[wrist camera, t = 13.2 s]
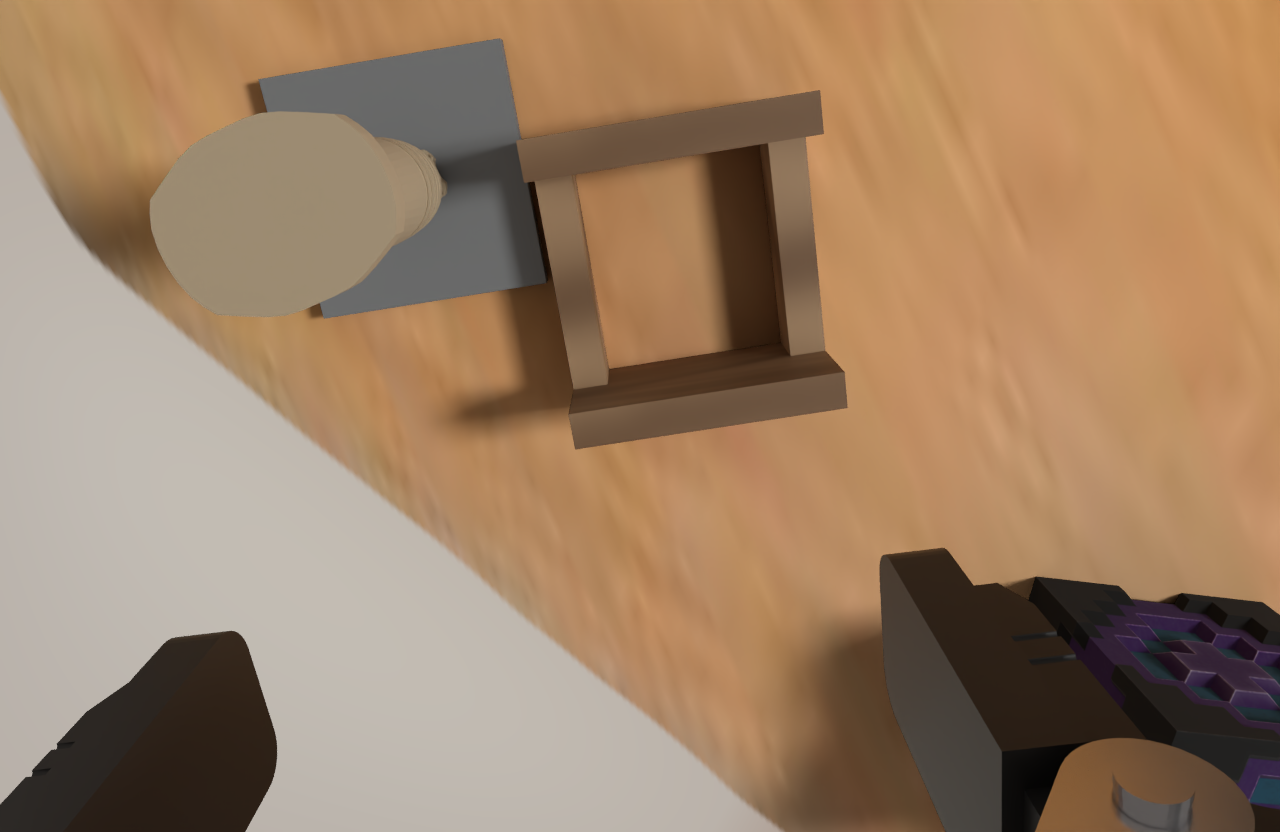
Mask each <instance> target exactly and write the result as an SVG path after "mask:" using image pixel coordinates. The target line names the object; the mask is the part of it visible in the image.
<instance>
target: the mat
mask: <svg viewBox="0 0 1280 832" xmlns="http://www.w3.org/2000/svg"><path fill="white" fill-rule="evenodd" d="M258 80H259V83H260V87H261V91H262V94H263V98H264V101H265V105H266V109H267V112H277V111H284V112H310V113H327V114H341V115H346V116H347V117H349V118H350V119H352V120H354V121H355V122H357V123H358V124H360V125H361V126H362V127H363V128H364V129H366V130H367V131H368V132H369V133H370V134H371V135H372V136H373V137H384V138H391V139H396V140H400V141H403V142H406V143H409V144H411V145H413V146H415V147H417V148H418V149H420V150H426V151H428V152H429V153H431V154H432V155H433V156H434V157H435V159H436V167H437V170H438V172H439V174H440V176H441V177H442V178H443V179H444V180H445V181H446V182H447V194H446V195H445V196H443V197H442V198H441V202H440V205H439V208H438V210H437V212H436V214H435V215H434V217H433V218H432V220H431V221H430V222H429V223H428V224H427V225H426V226H425V227H424V228H422V229H421V230H420V231H419V232H417V233H416V234H415V235H413V236H412V237H410V238H408V239H406V240H404V241H402V242H401V243H399V244H397V245H394V246H392V247H391V249H390V250H389V251H388V252H387V254H386V255H385V256H384V257H383V259H382V260H381V261H380V262H379V263H378V265H377V266H376V267H375V268H374V269H373V270H372V271H371V273H370V274H369V275H368V276H367V277H366V278H365V279H364V280H363V281H362V282H360V283H359V284H357V285H356V286H354V287H352V288H351V289H349V290H347V291H345V292H342V293H340V294H338V295H336V296H334V297H332V298H329V299H327V300H325V301H323V302H320V306H321V310H322V313H323V317H324V318H331V317H337V316H343V315H349V314H356V313H362V312H368V311H374V310H381V309H387V308H393V307H400V306H406V305H412V304H418V303H425V302H431V301H437V300H443V299H450V298H456V297H462V296H469V295H475V294H481V293H487V292H494V291H500V290H506V289H512V288H519V287H525V286H531V285H538V284H544V283H547V281H548V277H547V272H546V267H545V261H544V256H543V251H542V246H541V240H540V235H539V230H538V225H537V219H536V214H535V209H534V204H533V198H532V193H531V188H530V182H527V183H524V180H523V175H522V169H521V164H520V159H519V154H518V149H517V143H516V140H521V135H520V130H519V125H518V119H517V114H516V109H515V104H514V98H513V93H512V88H511V82H510V77H509V72H508V67H507V61H506V56H505V51H504V46H503V40H501V39H500V38H499V39H493V40H487V41H482V42H476V43H470V44H464V45H458V46H452V47H446V48H440V49H435V50H429V51H423V52H417V53H411V54H405V55H399V56H393V57H387V58H382V59H376V60H370V61H364V62H358V63H352V64H346V65H340V66H334V67H329V68H323V69H317V70H311V71H305V72H299V73H293V74H287V75H282V76H276V77H270V78H264V79H258Z"/></svg>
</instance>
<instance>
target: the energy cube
mask: <svg viewBox="0 0 1280 832" xmlns="http://www.w3.org/2000/svg"><path fill="white" fill-rule="evenodd" d="M1028 601H1030V602H1032V603H1033V604H1035V606H1036V607H1037V608H1038V609H1039V610H1040V612H1041V613H1042V614H1043V615H1044V616H1045V618H1046V619H1047V620H1048V621H1049V622H1050V624H1051V625H1052V626H1053V627H1054V628H1055V630H1056V631H1057V636H1058V637H1060V636H1061V637H1062V638H1063V639H1064V640H1065V642H1066V643H1067V644H1068V645H1069V646H1070V648H1071V649H1072V650H1073V651H1074V652H1075V654H1076V659H1077V660H1081V661H1082V662H1083V663H1084V665H1085V666H1086V667H1087V668H1088V669H1089V671H1090V672H1091V673H1092V674H1093V675H1094V677H1095V678H1096V679H1097V680H1098V681H1099V683H1100V684H1101V685H1102V686H1103V687H1104V689H1105V690H1106V691H1107V692H1108V693H1109V695H1110V696H1111V697H1112V698H1113V699H1114V701H1115V702H1116V703H1117V704H1118V705H1119V707H1120V708H1121V709H1122V710H1123V711H1124V713H1125V714H1126V715H1127V716H1128V717H1129V719H1130V720H1131V721H1132V722H1133V723H1134V725H1135V726H1136V727H1137V728H1138V729H1139V731H1140V732H1141V733H1142V734H1143V735H1144V737H1145V738H1146V739H1147V740H1150V741H1154V742H1158V743H1163V744H1167V745H1170V746H1173V747H1176V748H1179V749H1182V750H1184V751H1186V752H1189V753H1191V754H1193V755H1196V756H1197V757H1199V758H1201V759H1203V760H1205V761H1207V762H1208V763H1210V764H1212V765H1213V766H1215V767H1216V768H1217V769H1219V770H1220V771H1222V772H1223V773H1224V774H1226V775H1227V776H1228V777H1229V778H1230V779H1231V780H1232V781H1234V782H1235V783H1236V785H1237V786H1238V787H1239V788H1240V789H1241V790H1242V792H1243V793H1244V794H1245V796H1246V797H1247V799H1248V801H1249V803H1252V804H1255V805H1259V806H1263V807H1269V808H1275V809H1280V615H1279V614H1278V613H1276V612H1275V611H1274V610H1272V609H1271V608H1270V607H1268V606H1267V605H1265V604H1264V603H1263V602H1255V601H1246V600H1237V599H1228V598H1220V597H1211V596H1202V595H1193V594H1185V593H1181V594H1180V595H1179V597H1178V599H1177V601H1176V603H1175V604H1166V603H1157V602H1148V601H1139V600H1131V599H1130V597H1129V596H1128V595H1127V594H1126V592H1125V591H1124V590H1122V589H1121V588H1120V587H1119V586H1115V585H1106V584H1097V583H1088V582H1079V581H1071V580H1062V579H1053V578H1044V577H1035V581H1034V584H1033V587H1032V591H1031V594H1030V597H1029V600H1028Z"/></svg>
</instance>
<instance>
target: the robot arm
mask: <svg viewBox="0 0 1280 832" xmlns="http://www.w3.org/2000/svg"><path fill="white" fill-rule="evenodd" d="M880 593H881V614H882V635H883V656H884V670H885V678H886V684H887V689H888V694H889V698H890V702H891V706H892V709H893V712H894V715H895V717H896V720H897V722H898V725H899V727H900V729H901V731H902V734H903V736H904V738H905V740H906V743H907V745H908V747H909V750H910V752H911V754H912V756H913V759H914V761H915V763H916V765H917V768H918V770H919V772H920V775H921V777H922V779H923V781H924V784H925V786H926V788H927V790H928V793H929V795H930V797H931V800H932V802H933V804H934V806H935V809H936V811H937V813H938V815H939V818H940V820H941V822H942V825H943V827H944V829H945V831H946V832H1280V809H1275V808H1269V807H1263V806H1259V805H1255V804H1252V803H1249V801H1248V799H1247V797H1246V796H1245V794H1244V793H1243V792H1242V790H1241V789H1240V788H1239V787H1238V786H1237V785H1236V783H1235V782H1234V781H1232V780H1231V779H1230V778H1229V777H1228V776H1227V775H1226V774H1224V773H1223V772H1222V771H1220V770H1219V769H1217V768H1216V767H1215V766H1213V765H1212V764H1210V763H1208V762H1207V761H1205V760H1203V759H1201V758H1199V757H1197V756H1196V755H1193V754H1191V753H1189V752H1186V751H1184V750H1182V749H1179V748H1176V747H1173V746H1170V745H1167V744H1163V743H1158V742H1154V741H1150V740H1147V739H1146V738H1145V737H1144V735H1143V734H1142V733H1141V732H1140V731H1139V729H1138V728H1137V727H1136V726H1135V725H1134V723H1133V722H1132V721H1131V720H1130V719H1129V717H1128V716H1127V715H1126V714H1125V713H1124V711H1123V710H1122V709H1121V708H1120V707H1119V705H1118V704H1117V703H1116V702H1115V701H1114V699H1113V698H1112V697H1111V696H1110V695H1109V693H1108V692H1107V691H1106V690H1105V689H1104V687H1103V686H1102V685H1101V684H1100V683H1099V681H1098V680H1097V679H1096V678H1095V677H1094V675H1093V674H1092V673H1091V672H1090V671H1089V669H1088V668H1087V667H1086V666H1085V665H1084V663H1083V662H1082V661H1081V660H1077V659H1076V654H1075V652H1074V651H1073V650H1072V649H1071V648H1070V646H1069V645H1068V644H1067V643H1066V642H1065V640H1064V639H1063V638H1062V637H1061V636H1060V637H1058V636H1057V631H1056V630H1055V628H1054V627H1053V626H1052V625H1051V624H1050V622H1049V621H1048V620H1047V619H1046V618H1045V616H1044V615H1043V614H1042V613H1041V612H1040V610H1039V609H1038V608H1037V607H1036V606H1035V604H1033V603H1032V602H1030V601H1028V600H1026V599H1025V598H1023V597H1021V596H1019V595H1018V594H1016V593H1014V592H1012V591H1010V590H1009V589H1007V588H1005V587H1003V586H1002V585H1000V584H998V583H993V584H984V585H976V586H974V585H973V584H972V583H971V581H970V580H969V579H968V577H967V576H966V575H965V573H964V572H963V571H962V569H961V568H960V566H959V565H958V564H957V562H956V561H955V560H954V558H953V557H952V556H951V554H950V553H949V552H948V551H947V550H946V549H945V548H937V549H929V550H921V551H912V552H904V553H895V554H887V555H883V556H882V557H881V561H880ZM276 761H277V741H276V736H275V731H274V728H273V725H272V721H271V718H270V715H269V712H268V709H267V706H266V702H265V699H264V696H263V693H262V690H261V687H260V683H259V680H258V677H257V674H256V671H255V668H254V665H253V662H252V658H251V655H250V652H249V649H248V647H247V644H246V642H245V640H244V639H243V637H242V636H241V635H240V634H239V633H237V632H235V631H226V632H218V633H209V634H201V635H192V636H184V637H175V638H171V639H170V640H168V641H166V643H164V644H163V645H162V646H161V648H160V649H159V650H158V651H157V652H156V653H155V654H154V655H153V656H152V657H151V659H150V660H149V661H148V662H147V663H146V664H145V665H144V666H143V667H142V668H141V670H140V671H139V672H138V673H137V674H136V675H135V676H134V678H133V679H132V680H131V681H130V682H129V683H127V684H126V685H125V686H123V687H122V688H120V689H119V690H117V691H116V692H114V693H113V694H112V695H110V696H109V697H107V698H106V699H104V700H103V701H102V702H100V703H99V704H97V705H96V706H94V707H93V708H91V709H90V710H89V711H87V712H86V713H85V714H84V715H83V716H82V717H81V718H80V720H79V721H78V722H77V723H76V724H75V725H74V726H73V727H72V728H71V729H70V730H69V731H68V732H67V733H66V735H65V736H64V737H63V738H62V739H61V740H60V741H59V742H58V743H57V749H56V750H51V751H50V752H49V753H48V754H47V755H46V756H45V757H44V758H43V759H42V760H41V761H40V763H39V764H38V765H37V766H36V767H35V768H34V769H33V770H32V772H33V774H32V777H26V778H25V779H24V780H23V781H22V782H21V783H20V784H19V785H18V786H17V787H16V788H15V789H14V791H12V793H11V794H10V795H9V796H8V797H7V798H6V799H5V800H4V801H3V802H2V803H1V804H0V832H245V831H246V829H247V827H248V826H249V824H250V822H251V820H252V818H253V817H254V815H255V813H256V811H257V809H258V807H259V806H260V804H261V802H262V800H263V798H264V796H265V795H266V793H267V791H268V789H269V787H270V785H271V783H272V780H273V777H274V773H275V769H276Z"/></svg>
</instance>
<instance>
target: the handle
mask: <svg viewBox="0 0 1280 832" xmlns="http://www.w3.org/2000/svg"><path fill="white" fill-rule="evenodd" d="M446 194H447V182H446V181H445V180H444V179H443V178H442V177H441V176H440V174H439V172H438V170H437V167H436V159H435V157H434V156H433V155H432V154H431V153H429V152H428V151H426V150H420V149H418V148H417V147H415V146H413V145H411V144H409V143H406V142H403V141H400V140H396V139H391V138H384V137H373V136H372V135H371V134H370V133H369V132H368V131H367V130H366V129H364V128H363V127H362V126H361V125H360V124H358V123H357V122H355V121H354V120H352V119H350V118H349V117H347V116H346V115H341V114H327V113H310V112H284V111H277V112H266V113H259V114H256V115H253V116H250V117H247V118H244V119H241V120H239V121H237V122H235V123H233V124H230V125H228V126H226V127H224V128H222V129H220V130H218V131H216V132H214V133H212V134H209V135H207V136H206V137H204V138H202V139H201V140H199V141H198V142H196V143H194V144H193V145H191V146H190V147H189V148H188V149H187V150H186V152H185V153H184V154H183V155H182V156H181V157H180V158H179V159H178V160H177V162H176V163H175V164H174V166H173V167H172V169H171V170H170V171H169V173H168V174H167V176H166V177H165V178H164V180H163V181H162V183H161V184H160V186H159V187H158V189H157V190H156V192H155V193H154V195H153V196H152V198H151V199H150V222H151V230H152V233H153V236H154V239H155V242H156V245H157V248H158V250H159V252H160V254H161V256H162V258H163V260H164V262H165V264H166V266H167V268H168V269H169V271H170V272H171V274H172V275H173V277H174V278H175V279H176V281H177V282H178V284H179V285H180V286H181V287H182V288H183V289H184V290H185V291H186V292H187V294H188V295H189V296H190V297H191V298H192V299H194V300H195V301H196V302H198V303H199V304H200V305H202V306H203V307H204V308H206V309H208V310H210V311H211V312H213V313H215V314H216V315H226V316H245V317H275V316H286V315H290V314H293V313H296V312H299V311H302V310H305V309H307V308H309V307H311V306H314V305H316V304H318V303H320V302H323V301H325V300H327V299H329V298H332V297H334V296H336V295H338V294H340V293H342V292H345V291H347V290H349V289H351V288H352V287H354V286H356V285H357V284H359V283H360V282H362V281H363V280H364V279H365V278H366V277H367V276H368V275H369V274H370V273H371V271H372V270H373V269H374V268H375V267H376V266H377V265H378V263H379V262H380V261H381V260H382V259H383V257H384V256H385V255H386V254H387V252H388V251H389V250H390V249H391V247H392V246H394V245H397V244H399V243H401V242H402V241H404V240H406V239H408V238H410V237H412V236H413V235H415V234H416V233H417V232H419V231H420V230H421V229H422V228H424V227H425V226H426V225H427V224H428V223H429V222H430V221H431V220H432V218H433V217H434V215H435V214H436V212H437V210H438V208H439V205H440V202H441V198H442V197H443V196H445V195H446Z"/></svg>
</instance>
